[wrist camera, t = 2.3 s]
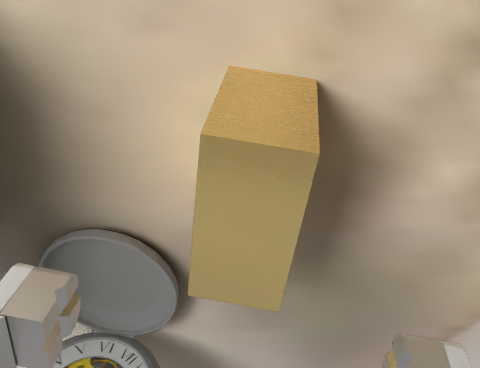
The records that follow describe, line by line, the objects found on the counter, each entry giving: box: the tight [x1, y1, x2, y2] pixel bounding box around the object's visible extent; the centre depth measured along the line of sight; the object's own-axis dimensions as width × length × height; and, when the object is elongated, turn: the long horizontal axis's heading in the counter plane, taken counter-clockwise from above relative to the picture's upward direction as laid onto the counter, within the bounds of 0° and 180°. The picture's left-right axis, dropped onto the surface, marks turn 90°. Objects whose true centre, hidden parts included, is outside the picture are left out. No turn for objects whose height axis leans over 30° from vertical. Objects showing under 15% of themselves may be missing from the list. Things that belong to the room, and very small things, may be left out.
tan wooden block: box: [188, 66, 320, 312], centre depth 15 cm, size 6×3×5 cm, turn 173°
